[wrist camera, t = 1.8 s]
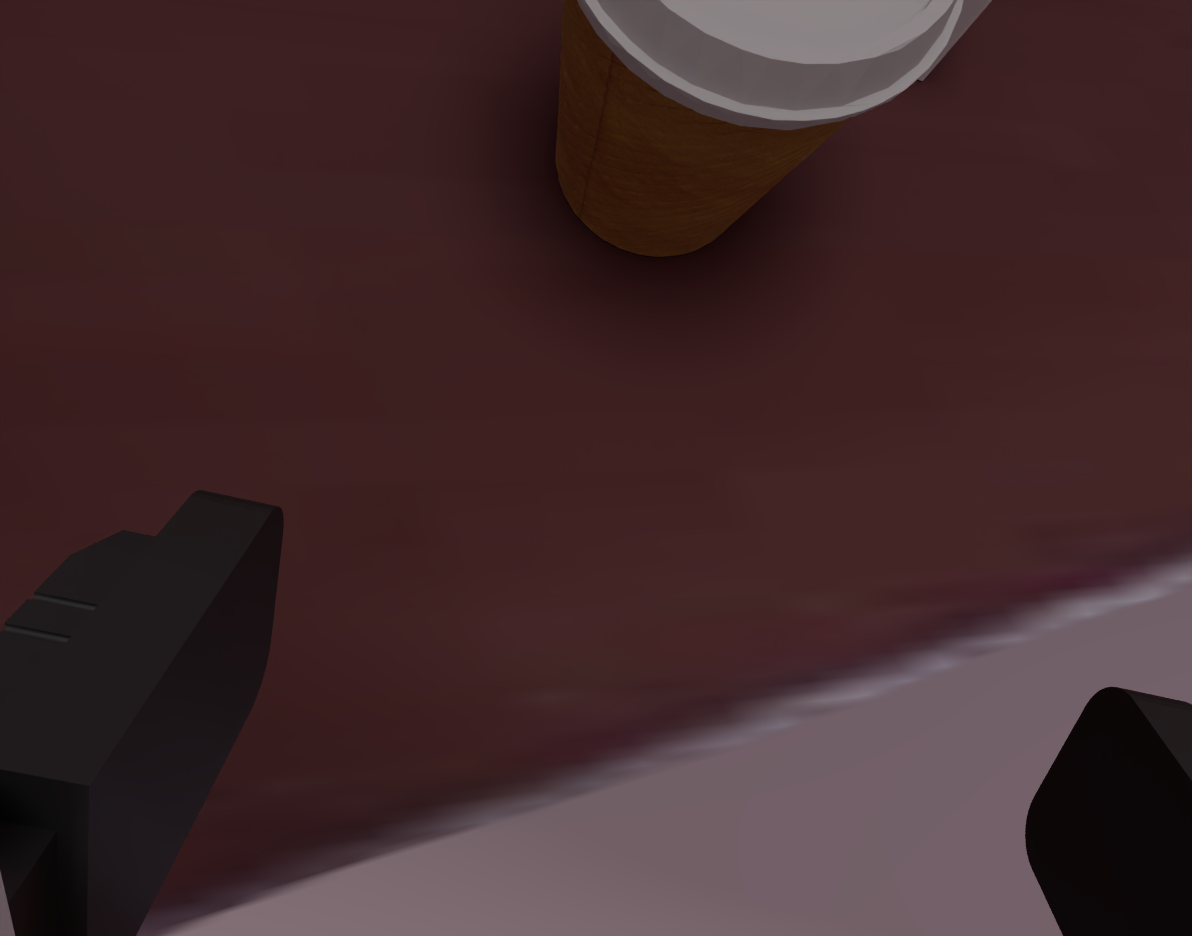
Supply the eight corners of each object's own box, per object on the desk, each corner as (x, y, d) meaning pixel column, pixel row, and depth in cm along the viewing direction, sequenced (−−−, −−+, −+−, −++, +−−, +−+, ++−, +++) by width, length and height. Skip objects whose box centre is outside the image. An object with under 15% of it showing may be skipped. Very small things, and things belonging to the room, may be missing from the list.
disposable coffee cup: (745, 19, 34) (918, -322, 22) (826, 277, 32) (1058, 54, 21) (471, 53, 32) (508, -304, 20) (546, 332, 30) (631, 117, 19)
